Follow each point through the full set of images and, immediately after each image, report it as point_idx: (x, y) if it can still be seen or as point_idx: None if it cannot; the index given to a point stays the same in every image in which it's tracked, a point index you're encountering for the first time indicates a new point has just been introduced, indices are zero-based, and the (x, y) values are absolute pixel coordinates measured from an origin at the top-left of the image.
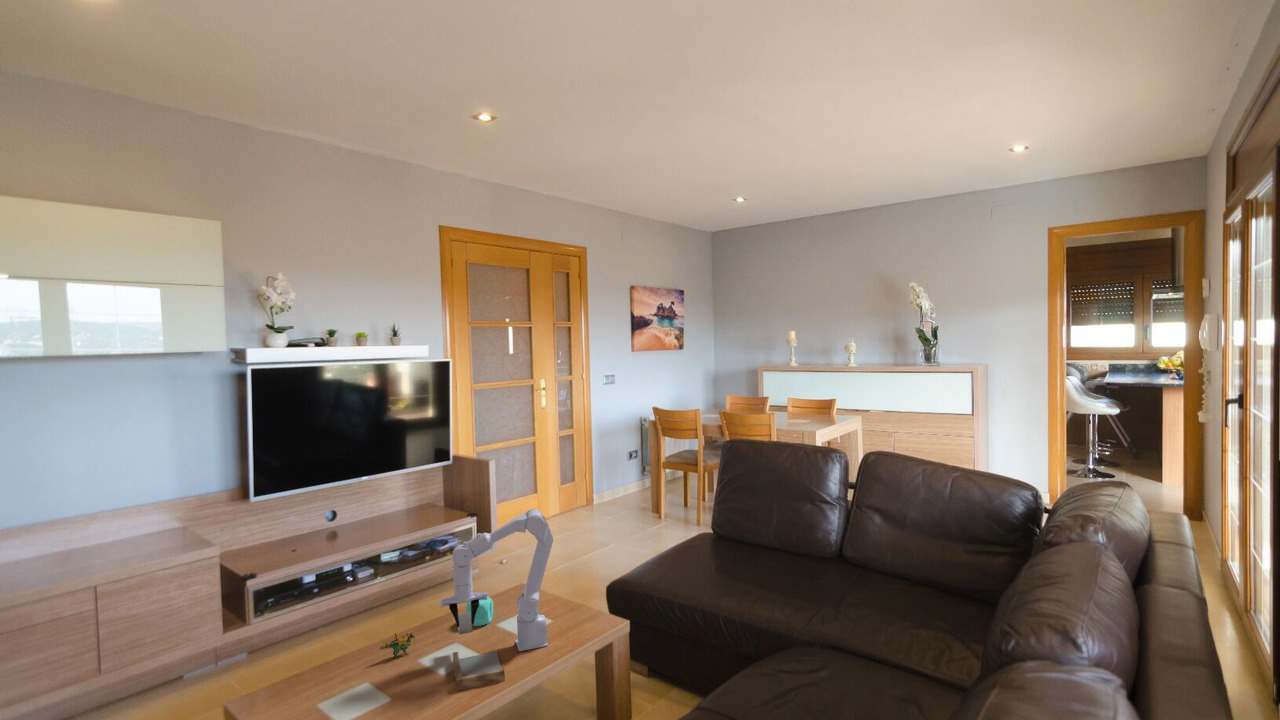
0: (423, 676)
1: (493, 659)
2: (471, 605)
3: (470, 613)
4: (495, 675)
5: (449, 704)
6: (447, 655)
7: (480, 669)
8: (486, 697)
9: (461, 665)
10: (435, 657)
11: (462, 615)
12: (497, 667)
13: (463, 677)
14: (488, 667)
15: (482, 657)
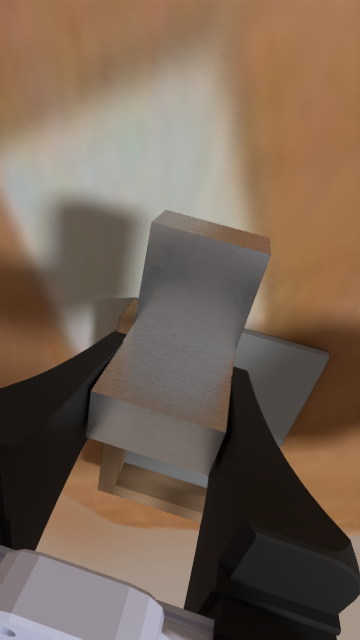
0: (16, 325)
1: (278, 406)
2: (195, 588)
3: (204, 467)
4: None
5: (80, 490)
6: (125, 213)
7: None
8: (168, 522)
9: None
10: (67, 193)
11: (124, 448)
12: None
13: (117, 490)
14: None
15: (249, 364)
